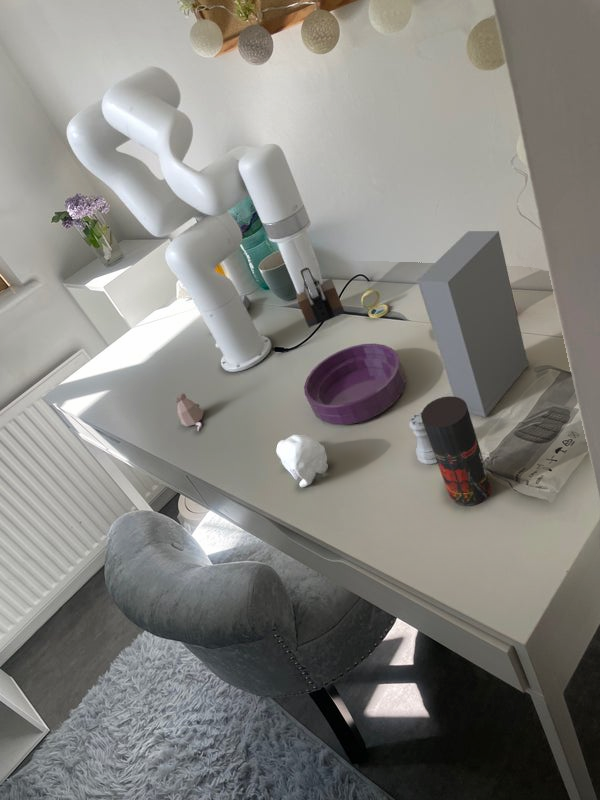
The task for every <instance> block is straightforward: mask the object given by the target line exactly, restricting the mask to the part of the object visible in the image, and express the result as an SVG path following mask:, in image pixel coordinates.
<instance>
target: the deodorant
mask: <svg viewBox="0 0 600 800" xmlns="http://www.w3.org/2000/svg"><path fill="white" fill-rule="evenodd" d="M421 413H422V414H421V418H422V421H423V424H424V427H425V430H426V433H427V435H428V438H429V441H430V444H431V446H432V449H433V452H434V455H435V457H436V460H437V463H436V464H437V465H438V468H439V471H440V474H441V476H442V480H443V482H444V486H445V488H446V491H447V493H448V496H449V498H450V500H451V501H452V502H453V503H455V504H456V505H458V506H462V507H473V506H476V505H479V504H482V503H483V502H484V501H485V500H487V499H488V498H489V497H490V494H491V493H492V484H491V480H490V477H489V474H488V471H487V467H486V464H485V461H484V458H483V454H482V451H481V448H480V444H479V441H478V438H477V434H476V431H475V428H474V425H473V420H472V417H471V413H469V411H468V408H467V404H466V402H465V401H464V400H462V399H461V398H458V397H454V396H453V395H451V396H442V397H439V398H436V399H434V400H432V401H430V402H429V403H428V404H426V405H425V407H423V410H422V411H421Z"/></svg>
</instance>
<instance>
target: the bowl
mask: <svg viewBox="0 0 600 800" xmlns="http://www.w3.org/2000/svg"><path fill="white" fill-rule="evenodd" d="M406 381H407V377H406V374H405V371H404V367H403V366H402V363H401V360H400V357H399V355H398V353H397V352H396V351H395V350H394V349H393V348H392V347H390V346H388V345H385V344H382V343H361V344H356V345H352V346H350V347H346V348H344V349H341V350H339V351H337V352H335V353H333V354H331V355H329V356H328V357H326V358H324V359H323V360H322V361H321V362H319V363H318V364H317V365H316V366H315V367H314V368H313V369H312V370H311V371H310V373H309V374H308V376H307V377H306V379H305V382H304V386H303V391H304V395H305V397H306V400H307V402H308V404H309V406H310V408H311V411H312V412H313V414H314V415H315V417H316V418H317V419H319V420H320V421H322V422H324V423H327V424H330V425H338V426H339V425H341V426H345V425H351V424H358V423H361V422H364V421H367V420H370V419H373V418H374V417H375V416H378V415H380V414H382V413H383V412H385V411H386V410H387V409H389V408H390V407H391V406H392V405H394V404H395V402H396V401H397V400H398V399H399V398H400V397H401V396H402V394H403V392H404V390H405V387H406Z"/></svg>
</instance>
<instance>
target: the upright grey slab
mask: <svg viewBox="0 0 600 800" xmlns="http://www.w3.org/2000/svg"><path fill="white" fill-rule="evenodd" d="M416 281H417V284H418V287H419V290H420V294H421V296H422V300H423V302H424V303H423V304H424V306H425V310H426V313H427V316H428V320H429V323H430V325H431V329H432V332H433V335H434V338H435V341H436V345H437V348H438V351H439V354H440V357H441V360H442V363H443V367H444V371H445V373H446V376H447V379H448V383H449V386H450V389H451V392H452V397H458V398H461V399H462V400H464V401H465V402H466V404H467V408H468V411H469V414H470V415H476V416H479V417H483V418H486V417H488V415H489V414H490V413H491V411H492V410H493V409H494V407H495V406H496V405H498V403H499V401H500V400H501V399H502V398H503V397H504V395H505V394H506V393H507V392H508V390H509V389H511V387H512V385H514V383H515V382H516V381H517V379H518V378H519V377H520V376H521V375H522V374H523V372H524V371H525V370H526V369H527V368H528V366H529V365H530V362H529V358H528V357H527V354H526V349H525V345H524V339H523V336H522V331H521V327H520V322H519V318H518V313H517V308H516V303H515V299H514V294H513V291H512V286H511V280H510V276H509V271H508V268H507V263H506V258H505V253H504V249H503V244H502V240H501V234H500V231H499V230H468V231H467V232H466V233H464V235H462V237H461V238H459V240H457V241H456V242H455V243H454V244H453V245H452V246H450V248H449V249H448V250H447V251H446V252H445V253H443V255H442V256H440V257H439V258H438V260H436V261H435V263H433V264H432V265H431V266H430V267H429V268H428V269H427V270H426V271H424V273H423V274H422V275H421V276H420V277H419V278H418V279H416Z"/></svg>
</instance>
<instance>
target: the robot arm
mask: <svg viewBox="0 0 600 800" xmlns="http://www.w3.org/2000/svg"><path fill="white" fill-rule="evenodd" d="M180 104H181V90H180V88H179V85H178V83H177V81H176V80H175V78H173V76H172V75H171V74H170V73H169V72H168V71H166V70H165V69H164V68H162V67H158V66H147V67H145V68H142V69H140V70H138V71H136V72H135V73H133V74H131V75H129V76H126V77H125V78H123V79H122V80H119V81H118V82H116V83H115V84H113V85H112V86H110V87H109V88H108V89H107V91H106V92H105V93H104V95H103V97H102V98H101V99H100V100H97V101H96V102H94V103H92V104H89V105H88V106H86V107H85V108H83V109H82V110H80V111H79V112H78V113H76V114H75V115H73V117H72V118H71V119H70V121H69V122H68V123H67V126H66V138H67V141H68V144H69V146H70V148H71V150H72V152H73V153H74V155H75V156H76V158H77V160H78V161H79V162H80V163H81V164H82V165H83V166H84V167H85V169H87V170H88V171H89V172H90V173H91V174H92V175H94V176H95V177H96V178H97V179H99V180H100V181H102V182H103V183H104V184H105V185H107V186H108V187H109V188H110V190H112V191H113V192H114V193H115V194H116V196H117V197H118V198H119V199H120V201H121V202H122V203H123V204H124V205H125V206H126V208H127V209H128V210H129V211H130V212H131V214H132V215H133V217H135V218H136V219H137V221H138V222H139V223H140V225H142V226H143V227H144V229H145V230H146V231H148V233H150V235H152V236H154V237H155V238H156V237H157V238H163V237H166V236H168V235H170V234H172V233H173V232H174V231H176V230H177V229H179V228H180V227H182V226H183V225H185V224H186V223H187V222H189V221H190V220H192V219H193V218H194V219H195V220H196V221H197V222H195V223H194V224H193V225H191V226H189V227H187V229H185V230H184V231H183V232H181V233H179V234H178V235H177V236H175V237H174V239H172V240H171V241H170V243H169V244H168V245H167V247H166V249H165V254H164V260H165V262H166V264H167V266H168V268H169V270H170V271H171V272H172V273H173V274H174V276H175V277H176V278H177V280H178V281H179V283H181V284H182V286H183V287H184V289H185V290H186V292H187V293H188V295H189V296H190V298H191V300H192V302H193V303H194V305H195V307H196V308H197V310H198V312H199V314H200V315H201V317H202V319H203V321H204V323H205V324H206V326H207V328H208V330H209V332H210V334H211V335H212V337H213V339H214V341H215V348H217V349H219V350H220V352H221V353H222V357H221V359H220V365H221V367H222V368H223V370H225V371H226V372H230V373H236V372H237V373H238V372H242V371H245V370H248V369H250V368H252V367H254V366H256V365H258V364H260V363H261V361H263V360H264V359H265V358H266V357H267V356H268V355H269V353H270V352H271V350H272V342H271V340H270V338H268V337H267V336H266V335H265V336H264V335H260V333H259V331H258V329H257V327H256V325H255V323H254V321H253V320H252V319H253V318H252V317H251V315H250V314H249V311H248V310H247V309H246V307H245V305H244V303H243V301H242V299H241V297H240V296H241V295H240V294H239V292H238V289H237V288H236V285H235V284H234V282H233V281H232V280H231V278H229V277H228V276H226V275H224V274H221V273H219V272H218V271H216V268H217V267H218V266H219V265H220V264H222V262H223V261H225V260H226V259H227V258H229V257H230V256H231V255H232V254H234V253H235V252H236V251H238V249H239V248H240V247H241V245H242V243H243V233H242V230H241V228H240V226H239V224H238V222H237V220H235V218H234V217H233V216H232V214H231V213H230V212H229V211H230V210H231V209H233V208H234V207H235V206H236V205H238V204H239V203H241V202H242V201H243V200H245V199H246V198H248V197H250V199H251V202H252V203H253V206H254V208H255V210H256V213H257V215H258V217H259V220H260V222H261V224H262V226H263V228H264V231H265V233H266V235H267V238H268V240H269V241H270V242H271V243H276V245H277V247H278V249H279V253H280V255H281V257H282V260H283V261H284V264H285V267H286V269H287V272H288V274H289V276H290V279H291V282H292V284H293V286H294V289H295V291H296V293H298V294H301V293H303V292H304V289H305V292H306V293H307V296H308V298H309V301H310V303H311V304H310V306H311V308H312V311H313V313H314V315H315V318H316V320H317V322H318V323H319V324H321V322H322V323H325V322H327V321H329V320H331V319H334V318H335V317H334V314H333V312H332V309H331V307H330V304H329V302H328V299H327V297H326V298H325V296H324V293H323V291H322V288H321V285H322V284H323V282H324V281H323V277H322V274H321V270H320V265H319V262H318V259H317V256H316V253H315V250H314V247H313V245H312V242H311V239H310V237H309V234H308V231H307V229H308V228H310V226H311V223H312V222H311V220H310V217H309V215H308V211H307V210H306V207H305V205H304V202H303V199H302V196H301V194H300V190H299V189H298V186H297V184H296V181H295V178H294V176H293V173H292V171H291V168H290V166H289V163H288V161H287V158H286V155H285V153H284V151H283V149H282V148H281V146H280V145H278V144H276V143H266V144H263V145H261V146H256V145H251V144H241V145H238V146H236V147H234V148H232V149H231V150H229V151H228V152H226V153H225V154H224V155H221V156H220V157H218V158H217V159H216V160H214V161H212V162H211V163H209V164H208V165H206V166H205V167H203V168H202V169H201V170H196V169H194V168H192V167H191V166H189V165H188V164H186V163H185V162H183V161H184V159H185V157H186V155H187V154H188V152H189V150H190V147H191V146H192V145H191V144H192V141H193V135H194V128H193V124H192V121H191V119H190V118H189V116H188V115H187V114H186V113H185V112H183V111H181V110H179V109H178V108H179V106H180ZM130 140H132V141H133V142H135V143H137V144H138V145H140V146H141V147H143V148H144V149H146V150H148V151H149V152H150V153H152V154H154V155H155V156H157V157H158V161H159V167H160V171H161V173H162V175H163V178H162V179H160V178H158V177H157V176H156V175H155V174H154V173H153V171H151V169H150V168H149V167H148V165H147V164H146V163H145V162H144V161H142V160H141V159H139V158H137V157H135V156H133V155H131V154H128V153H125V152H122V151H118V150H117V148H119V147H120V146H122V145H123V144H126V143H128V142H129V141H130ZM317 288H318V289H319V291H318V292H317ZM310 294H311V295H310ZM333 317H334V318H333ZM326 320H327V321H326Z"/></svg>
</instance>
